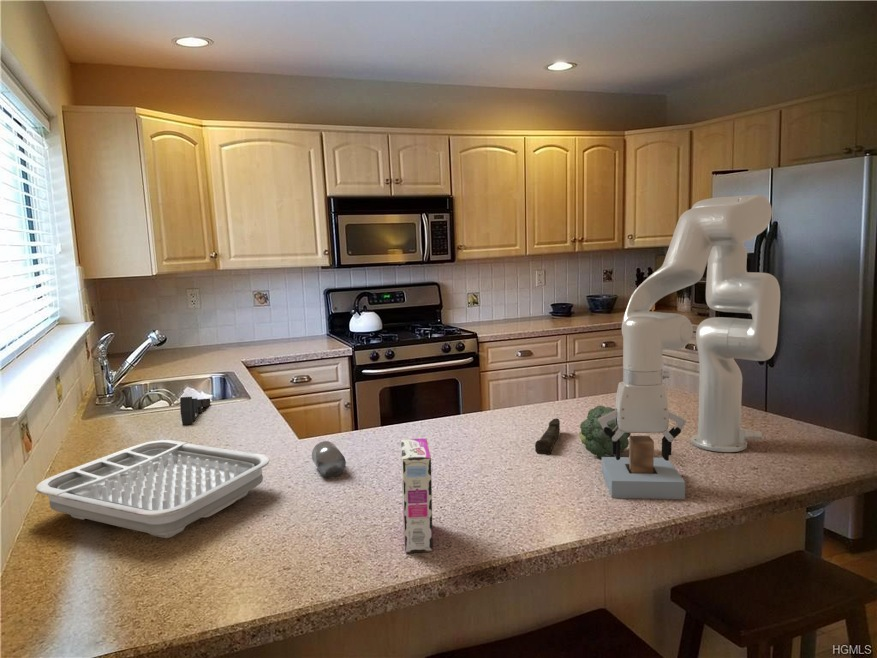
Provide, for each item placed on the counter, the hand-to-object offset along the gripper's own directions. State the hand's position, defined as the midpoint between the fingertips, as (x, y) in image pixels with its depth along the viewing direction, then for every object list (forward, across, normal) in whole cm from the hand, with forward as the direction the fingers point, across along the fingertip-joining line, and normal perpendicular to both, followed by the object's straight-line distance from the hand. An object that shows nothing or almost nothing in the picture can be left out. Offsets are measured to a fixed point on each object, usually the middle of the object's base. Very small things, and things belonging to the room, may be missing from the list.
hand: (641, 458), depth 127 cm
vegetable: (+6, +5, -21) cm, 22 cm away
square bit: (+6, 0, 0) cm, 6 cm away
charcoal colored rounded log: (+6, +17, -27) cm, 33 cm away
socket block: (+6, 0, 0) cm, 6 cm away
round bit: (+3, +70, -8) cm, 71 cm away
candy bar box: (+6, +43, +26) cm, 51 cm away
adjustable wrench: (+6, +126, -53) cm, 137 cm away
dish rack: (+6, +98, +15) cm, 99 cm away
